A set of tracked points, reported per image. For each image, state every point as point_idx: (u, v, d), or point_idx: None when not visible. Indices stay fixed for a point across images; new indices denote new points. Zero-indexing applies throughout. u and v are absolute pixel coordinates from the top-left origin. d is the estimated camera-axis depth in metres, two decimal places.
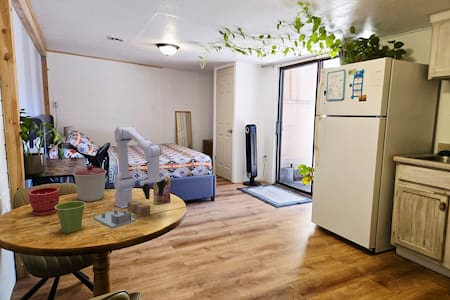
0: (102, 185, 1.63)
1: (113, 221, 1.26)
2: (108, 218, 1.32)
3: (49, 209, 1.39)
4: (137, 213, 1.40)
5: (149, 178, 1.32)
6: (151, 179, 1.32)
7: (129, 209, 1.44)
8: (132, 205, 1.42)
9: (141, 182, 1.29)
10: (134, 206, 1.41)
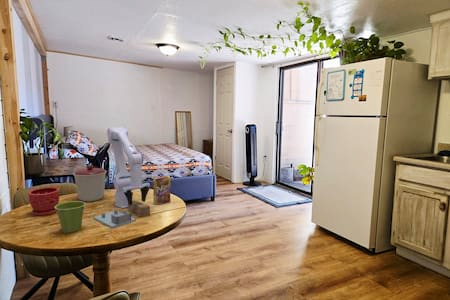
0: (102, 185, 1.63)
1: (113, 221, 1.26)
2: (108, 218, 1.32)
3: (49, 209, 1.39)
4: (137, 213, 1.40)
5: (132, 185, 1.39)
6: (133, 186, 1.39)
7: (129, 209, 1.44)
8: (132, 205, 1.42)
9: (124, 189, 1.36)
10: (134, 206, 1.41)
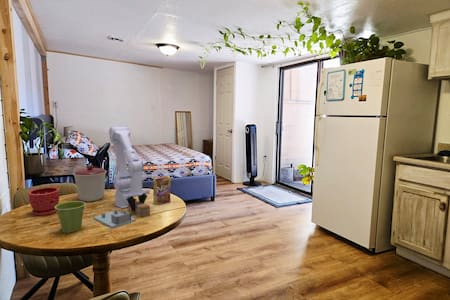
0: (102, 185, 1.63)
1: (113, 221, 1.26)
2: (108, 218, 1.32)
3: (49, 210, 1.39)
4: (137, 213, 1.39)
5: (132, 192, 1.39)
6: (134, 193, 1.39)
7: (129, 208, 1.44)
8: None
9: (124, 196, 1.36)
10: None
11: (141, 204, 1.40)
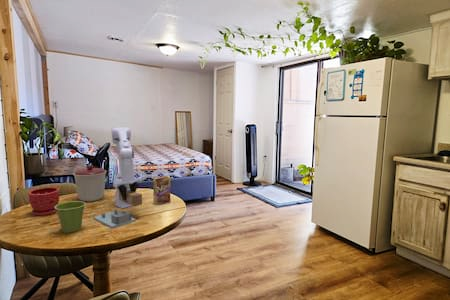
0: (102, 185, 1.63)
1: (113, 221, 1.26)
2: (108, 218, 1.32)
3: (49, 209, 1.39)
4: (128, 202, 1.35)
5: (123, 180, 1.35)
6: (125, 181, 1.35)
7: (120, 198, 1.40)
8: None
9: (114, 184, 1.32)
10: None
11: (133, 193, 1.36)
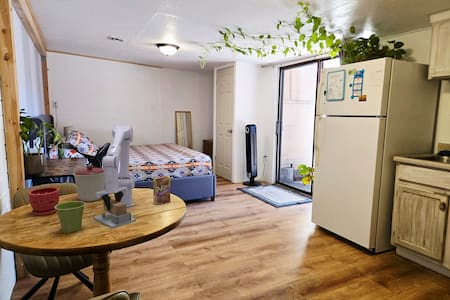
0: (102, 185, 1.63)
1: (113, 221, 1.26)
2: (108, 218, 1.32)
3: (49, 210, 1.39)
4: (112, 212, 1.29)
5: (107, 189, 1.29)
6: (108, 190, 1.29)
7: (105, 208, 1.34)
8: None
9: (97, 193, 1.26)
10: None
11: (117, 203, 1.30)
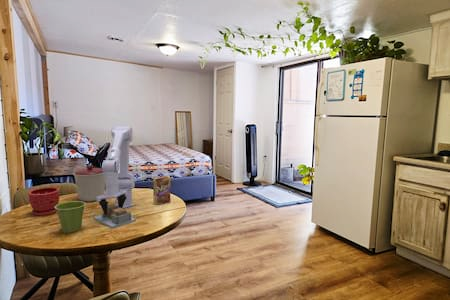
0: (102, 185, 1.63)
1: (113, 221, 1.26)
2: (108, 218, 1.32)
3: (49, 209, 1.39)
4: None
5: (107, 193, 1.29)
6: (109, 194, 1.29)
7: None
8: (108, 209, 1.32)
9: (97, 198, 1.26)
10: (109, 210, 1.31)
11: (117, 208, 1.30)
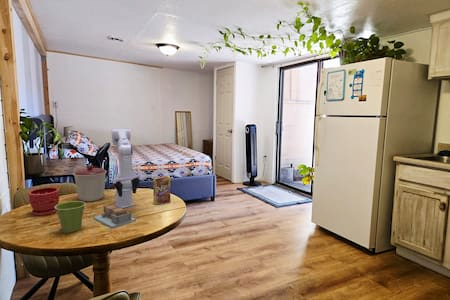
0: (102, 185, 1.63)
1: (113, 221, 1.26)
2: (108, 218, 1.32)
3: (49, 210, 1.39)
4: None
5: (122, 176, 1.37)
6: (124, 177, 1.36)
7: (105, 213, 1.34)
8: (108, 209, 1.32)
9: (113, 180, 1.33)
10: (109, 210, 1.31)
11: (117, 208, 1.30)
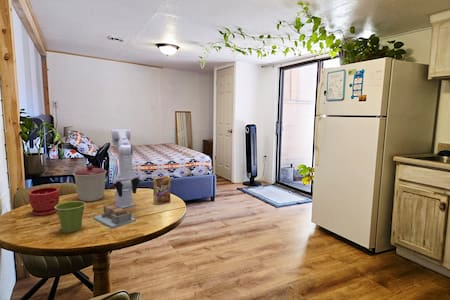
0: (102, 185, 1.63)
1: (113, 221, 1.26)
2: (108, 218, 1.32)
3: (49, 209, 1.39)
4: None
5: (122, 176, 1.37)
6: (124, 177, 1.36)
7: (105, 213, 1.34)
8: (108, 209, 1.32)
9: (113, 180, 1.33)
10: (109, 210, 1.31)
11: (117, 208, 1.30)
